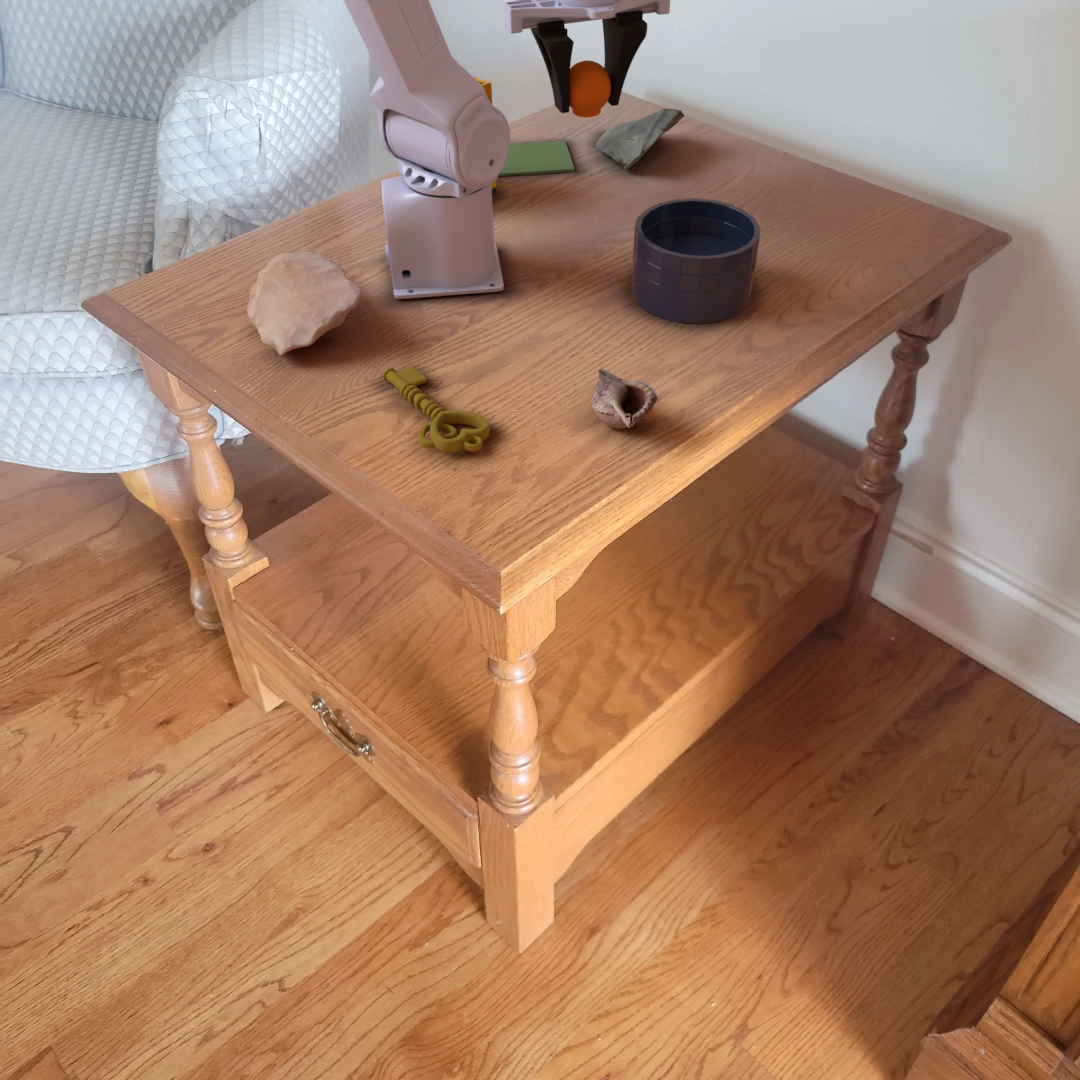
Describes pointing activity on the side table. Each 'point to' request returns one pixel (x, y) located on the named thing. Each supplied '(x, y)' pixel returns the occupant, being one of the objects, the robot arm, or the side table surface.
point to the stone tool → (300, 300)
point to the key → (439, 415)
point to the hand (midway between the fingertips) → (586, 105)
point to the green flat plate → (538, 158)
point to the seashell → (622, 400)
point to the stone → (636, 136)
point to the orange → (588, 88)
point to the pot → (694, 260)
